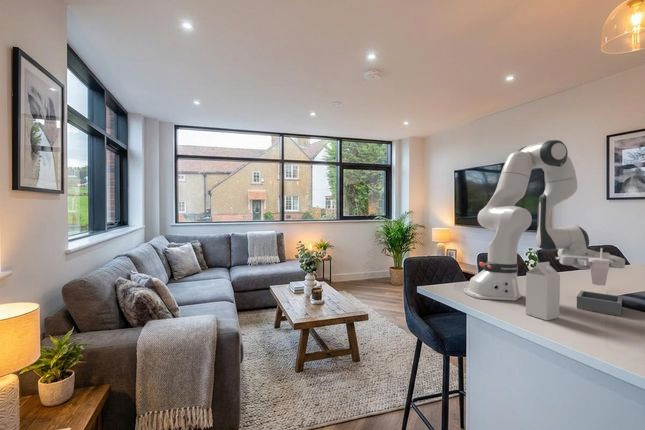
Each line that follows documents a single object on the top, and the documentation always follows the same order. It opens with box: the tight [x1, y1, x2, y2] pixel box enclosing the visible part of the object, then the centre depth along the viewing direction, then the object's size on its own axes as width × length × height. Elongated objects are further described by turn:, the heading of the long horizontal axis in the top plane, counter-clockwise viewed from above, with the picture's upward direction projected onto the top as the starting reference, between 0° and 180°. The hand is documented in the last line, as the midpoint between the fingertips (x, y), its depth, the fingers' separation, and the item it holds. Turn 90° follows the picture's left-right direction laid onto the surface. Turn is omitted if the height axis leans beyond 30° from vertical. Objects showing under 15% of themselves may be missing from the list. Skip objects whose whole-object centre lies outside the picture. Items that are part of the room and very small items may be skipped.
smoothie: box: [588, 247, 611, 287], centre depth 117 cm, size 6×6×14 cm
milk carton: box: [525, 261, 561, 321], centre depth 107 cm, size 7×7×19 cm
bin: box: [576, 290, 623, 317], centre depth 116 cm, size 12×12×4 cm
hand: (600, 264), depth 116 cm, fingers closed on smoothie, 6 cm apart
